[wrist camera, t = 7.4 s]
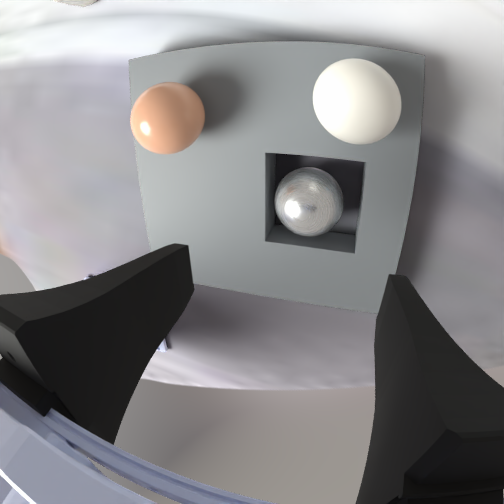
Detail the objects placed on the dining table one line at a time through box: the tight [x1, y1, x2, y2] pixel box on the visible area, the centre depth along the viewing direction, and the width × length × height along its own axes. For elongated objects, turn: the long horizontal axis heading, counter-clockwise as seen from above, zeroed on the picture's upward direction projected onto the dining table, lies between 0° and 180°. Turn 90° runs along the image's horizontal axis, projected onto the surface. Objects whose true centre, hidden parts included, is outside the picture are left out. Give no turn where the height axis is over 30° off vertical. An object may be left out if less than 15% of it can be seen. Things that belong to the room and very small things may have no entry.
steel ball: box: [274, 167, 344, 236], centre depth 18 cm, size 4×4×4 cm
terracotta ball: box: [130, 82, 205, 155], centre depth 15 cm, size 4×4×4 cm
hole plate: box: [129, 41, 425, 314], centre depth 19 cm, size 17×16×2 cm
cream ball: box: [313, 58, 401, 145], centre depth 12 cm, size 4×4×4 cm
